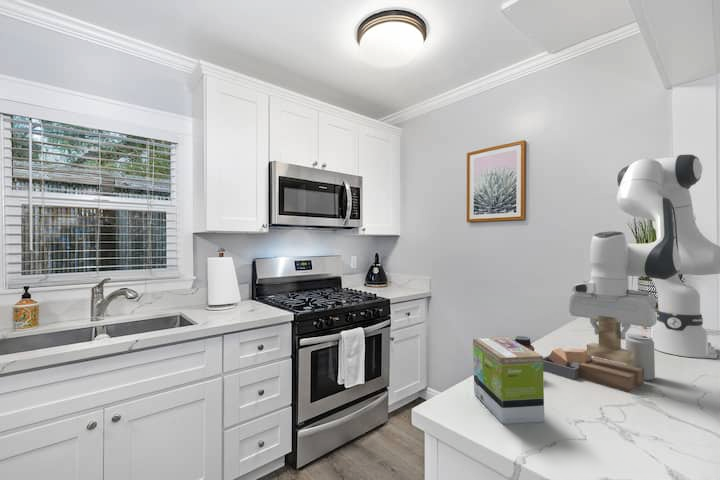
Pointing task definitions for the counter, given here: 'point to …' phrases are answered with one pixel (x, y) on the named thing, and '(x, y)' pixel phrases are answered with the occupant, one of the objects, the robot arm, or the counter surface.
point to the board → (612, 374)
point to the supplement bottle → (524, 342)
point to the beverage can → (642, 353)
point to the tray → (561, 369)
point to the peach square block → (559, 357)
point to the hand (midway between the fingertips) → (609, 336)
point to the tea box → (509, 380)
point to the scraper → (610, 343)
